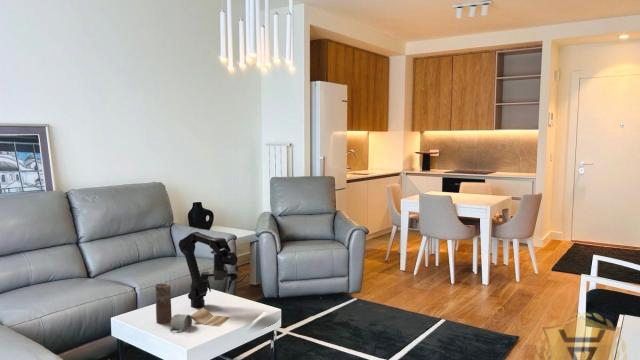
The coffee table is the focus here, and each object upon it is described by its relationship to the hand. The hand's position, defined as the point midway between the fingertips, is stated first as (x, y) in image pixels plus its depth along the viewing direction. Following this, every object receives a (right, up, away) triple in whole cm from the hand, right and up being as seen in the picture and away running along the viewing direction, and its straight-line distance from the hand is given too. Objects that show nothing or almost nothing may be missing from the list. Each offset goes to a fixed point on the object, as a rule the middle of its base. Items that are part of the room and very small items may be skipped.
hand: (219, 291), depth 250 cm
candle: (-25, -14, -12) cm, 31 cm away
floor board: (+1, -13, -11) cm, 17 cm away
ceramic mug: (-14, -14, -21) cm, 29 cm away
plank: (-7, -11, -9) cm, 16 cm away
